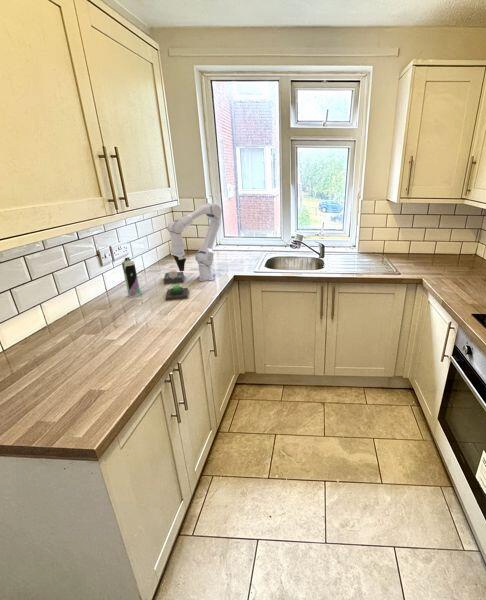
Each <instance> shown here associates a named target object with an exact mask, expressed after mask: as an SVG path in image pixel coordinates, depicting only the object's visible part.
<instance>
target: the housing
mask: <svg viewBox="0 0 486 600" xmlns="http://www.w3.org/2000/svg"><path fill="white" fill-rule="evenodd" d="M188 293H189V288H188V287H182V286H180V290H177V291H173V288H172V287H171V288H168V289H167V291H166V294H165V301H177V300H186V299H187V300H188Z"/></svg>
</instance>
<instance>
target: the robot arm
mask: <svg viewBox="0 0 486 600" xmlns="http://www.w3.org/2000/svg"><path fill="white" fill-rule="evenodd" d="M222 213H223V209H222V207H221V206H220V204H219V203H210V202H205V203H202V204H201V205H200V206H199V207H197V208H196V209H195V210H194V211H192V212H191V213H188V214H187V213H183V214H181V216H180V217H179V218H175V219H174V221H173V220H172V221H170V222H168V224H167V226H166V230H167V231H168V232H169V235H170V241H171V248H172V249H171V250H172V252H171V253H170V255H171V256H172V257H173V259H174V261H175V263H176V265H177V268H178V270H179V272H184V271H185V264H186V261H187V258H186V257H184V256H185V254H186V253H185V252H186V251H185V247H184V241H183V232H184V229H186V228H187V227H189V226H191V225H192V224H193V222H194V220H196V219H198V218H200V217H201V216H203V215H205V216H206V217H207V218H208V219H209V221H210V222H209V225H208V228H207V231H206V235H205V237H204V241H203V244H202V246H201V247H200V248H199V249H198V251H197V252H196V253H195V256H194V260H195V261H196V262H197V265H198V271H199V272H198V273H199V276H198V277H199V278H198V280H199V282H205V281H206V282H207V281H214V274H213V269H212V266H213V265H212V264H213V263H214V255H215V253H214V251H213V248H214V244H215V241H216V239H217V235H218V232H219V229H220V226H221V223H222Z"/></svg>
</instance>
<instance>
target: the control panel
mask: <svg viewBox="0 0 486 600" xmlns="http://www.w3.org/2000/svg"><path fill="white" fill-rule="evenodd" d="M177 276H178V277H176V278H170V277H169V272H165V274H164V277H163V284H164V285H171V284H173V285H174V284H181V283H182V284H183V283H184V279H185V272H184V271H177Z"/></svg>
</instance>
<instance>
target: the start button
mask: <svg viewBox="0 0 486 600" xmlns="http://www.w3.org/2000/svg"><path fill="white" fill-rule="evenodd" d="M180 287H181V285H173V286H172V287H171V288H173V291H177V290H180Z"/></svg>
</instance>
